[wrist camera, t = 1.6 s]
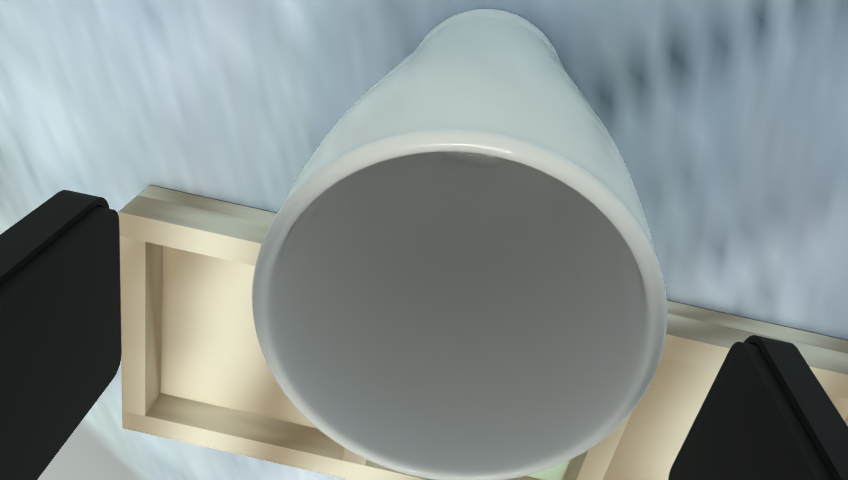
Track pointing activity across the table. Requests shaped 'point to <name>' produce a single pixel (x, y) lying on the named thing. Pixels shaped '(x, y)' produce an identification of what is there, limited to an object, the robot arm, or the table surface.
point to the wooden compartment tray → (277, 416)
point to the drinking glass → (464, 266)
